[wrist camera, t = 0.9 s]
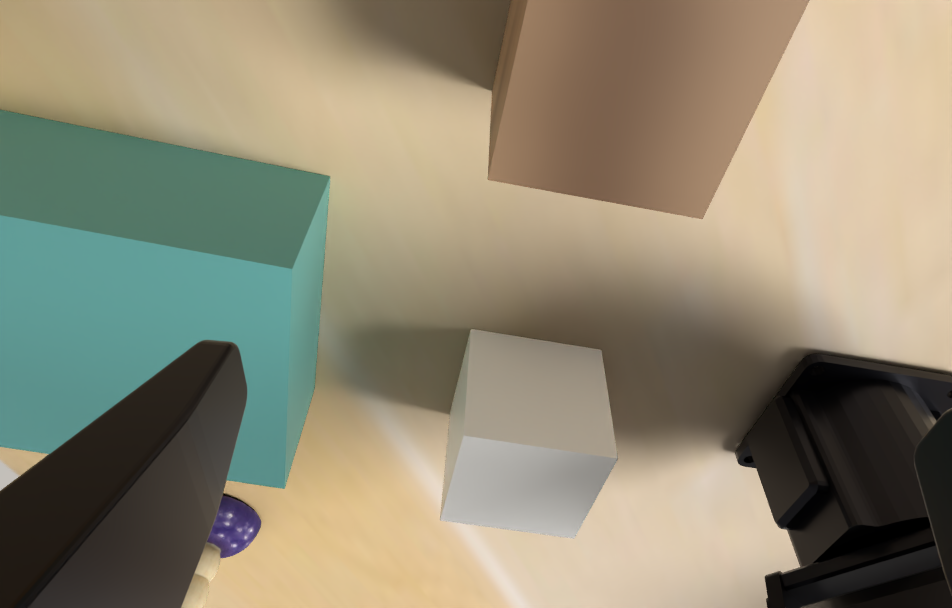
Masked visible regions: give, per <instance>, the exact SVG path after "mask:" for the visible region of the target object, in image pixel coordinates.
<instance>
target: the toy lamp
mask: <svg viewBox="0 0 952 608" xmlns="http://www.w3.org/2000/svg"><path fill="white" fill-rule="evenodd" d="M260 526H261V520H260V518H259V516H258V515H257V513H256V512H255V511H254V510H253V509H251V508H250V507H249V506H247V505H246V504H244V503H243V502H241V501H238V500H236V499H233V498H231V497H227V496H222V498H221V502H220V505H219V509H218V512H217V516H216V518H215V521H214V524H213V527H212V530H211V532H210V535H209V538H208V540H207V543H206V545H205V548H204V550H203V553H202V555H201V558H200V561H199V563H198V566H197V568H196V571H195V573H194V576H193V579H192V581H191V584H190V586H189V589H188V591H187V594H186V596H185V599H184V602H183V604H182V607H181V608H203V607H204V605H205V603H206V601H207V598H208V593H209V582H210V581H211V580H212V579H213V578H214V576H215V574H216V573H217V570H218V568H219V565H220V558H226V557H230V556H233V555H235V554H237V553H239V552H241V551H242V550H244V549H245V548H246V547H248V545H249V544H250V543H251V542H252V541H253V540H254V538H255V537H256V535H257V533H258V531H259V529H260Z"/></svg>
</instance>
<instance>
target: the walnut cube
mask: <svg viewBox="0 0 952 608" xmlns="http://www.w3.org/2000/svg"><path fill="white" fill-rule="evenodd" d="M808 2H809V0H511V3H510V7H509V12H508V17H507V22H506V27H505V32H504V36H503V41H502V46H501V51H500V56H499V60H498V65H497V70H496V75H495V80H494V85H493V89H492V104H491V125H490V146H489V166H488V180H492V181H497V182H503V183H508V184H514V185H519V186H525V187H530V188H535V189H541V190H546V191H552V192H557V193H563V194H568V195H574V196H579V197H585V198H590V199H595V200H601V201H606V202H612V203H617V204H623V205H628V206H634V207H639V208H645V209H650V210H656V211H661V212H666V213H672V214H677V215H683V216H688V217H694V218H699V219H703V217H704V215H705V213H706V211H707V209H708V207H709V205H710V203H711V201H712V199H713V197H714V194H715V192H716V190H717V188H718V186H719V184H720V182H721V180H722V178H723V176H724V174H725V172H726V170H727V168H728V166H729V164H730V162H731V160H732V158H733V156H734V154H735V152H736V150H737V147H738V145H739V143H740V141H741V139H742V137H743V135H744V133H745V131H746V129H747V127H748V125H749V123H750V121H751V119H752V117H753V115H754V113H755V111H756V109H757V107H758V105H759V103H760V100H761V98H762V96H763V94H764V92H765V90H766V88H767V86H768V84H769V82H770V80H771V78H772V76H773V74H774V72H775V70H776V68H777V66H778V64H779V62H780V60H781V58H782V56H783V53H784V51H785V49H786V47H787V45H788V43H789V41H790V39H791V37H792V35H793V33H794V31H795V29H796V27H797V25H798V23H799V21H800V19H801V17H802V15H803V13H804V11H805V9H806V6H807V4H808Z"/></svg>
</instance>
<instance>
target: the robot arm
mask: <svg viewBox="0 0 952 608" xmlns="http://www.w3.org/2000/svg"><path fill="white" fill-rule="evenodd" d="M817 366H818V367H817ZM814 367H815V368H814ZM246 402H247V383H246V378H245V374H244V369H243V364H242V359H241V355H240V351H239V348H238V346H237V345H236V344H235V343H233V342H229V341H217V340H202V341H200V342H198V343H196V344H195V345H194V346H192V347H191V348H190V349H188V350H187V351H186V352H184V353H183V354H182V355H180V356H179V357H178V358H176V359H175V360H174V361H172V362H171V363H170V364H168V365H167V366H166V367H164V368H163V369H162V370H160V371H159V372H158V373H156V374H155V375H154V376H152V377H151V378H150V379H148V380H147V381H146V382H144V383H143V384H142V385H141V386H139V387H138V388H137V389H135V390H134V391H133V392H131V393H130V394H129V395H127V396H126V397H125V398H123V399H122V400H121V401H119V402H118V403H117V404H115V405H114V406H113V407H111V408H110V409H109V410H107V411H106V412H105V413H103V414H102V415H101V416H99V417H98V418H97V419H95V420H94V421H93V422H91V423H90V424H89V425H87V426H86V427H85V428H83V429H82V430H81V431H79V432H78V433H77V434H75V435H74V436H73V437H71V438H70V439H69V440H67V441H66V442H65V443H63V444H62V445H61V446H59V447H58V448H57V449H55V450H54V451H53V452H51V453H50V454H49V455H47V456H46V457H45V458H43V459H42V460H41V461H39V462H38V463H37V464H35V465H34V466H33V467H31V468H30V469H29V470H27V471H26V472H25V473H23V474H22V475H21V476H19V477H18V478H17V479H15V480H14V481H13V482H12V483H10V484H9V485H7V486H6V487H5V488H3V489H2V490H1V491H0V608H181V607H182V604H183V602H184V599H185V596H186V594H187V591H188V589H189V586H190V584H191V581H192V579H193V576H194V573H195V571H196V568H197V566H198V563H199V561H200V558H201V555H202V553H203V550H204V548H205V545H206V543H207V540H208V538H209V535H210V532H211V530H212V527H213V524H214V521H215V518H216V516H217V512H218V509H219V505H220V502H221V498H222V495H223V491H224V487H225V483H226V479H227V476H228V472H229V468H230V464H231V460H232V457H233V453H234V449H235V445H236V441H237V437H238V434H239V430H240V426H241V422H242V418H243V415H244V411H245V407H246ZM735 455H736V458H737V461H738V464H740V465H741V466H745V467H752V468H757V471H758V474H759V477H760V480H761V483H762V486H763V489H764V492H765V494H766V497H767V500H768V503H769V506H770V509H771V512H772V515H773V518H774V520H775V522H776V524H777V525H778V527H779V528H781V529H787V531H788V534H789V536H790V539H791V542H792V545H793V547H794V550H795V553H796V556H797V559H798V561H799V564H800V568H797V569H793V570H790V571H787V572H784V573H782V572H780V571H778V572H775V573H772V574H768V575H765V582H766V588H767V595H768V598H767V599H766V602H767V608H952V376H951V375H945V374H939V373H933V372H927V371H921V370H915V369H909V368H903V367H897V366H890V365H884V364H878V363H872V362H866V361H860V360H854V359H848V358H842V357H836V356H830V355H824V354H813V355H809V356H807V357H805V358H804V359H803V360H802V361H801V362H800V363H799V365H798V366H797V367H796V369H795V370H794V372H793V373H792V374H791V376H790V377H789V378H788V380H787V381H786V382H785V384H784V385H783V387H782V388H781V389H780V391H779V392H778V393H777V395H776V396H775V398H774V399H773V400H772V402H771V403H770V404H769V406H768V407H767V408H766V410H765V411H764V413H763V414H762V415H761V417H760V418H759V419H758V421H757V422H756V424H755V425H754V426H753V428H752V429H751V430H750V432H749V433H748V434H747V436H746V437H745V439H744V440H743V441H742V443H741V444H740V445H739V447H738V448H737V450H736V452H735Z"/></svg>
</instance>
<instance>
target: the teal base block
mask: <svg viewBox="0 0 952 608" xmlns="http://www.w3.org/2000/svg"><path fill="white" fill-rule="evenodd" d="M329 188H330V176H326V175H321V174H316V173H311V172H306V171H301V170H296V169H291V168H286V167H281V166H276V165H271V164H266V163H261V162H256V161H251V160H246V159H242V158H237V157H232V156H227V155H222V154H217V153H212V152H207V151H202V150H197V149H192V148H187V147H182V146H177V145H172V144H167V143H162V142H157V141H152V140H147V139H143V138H138V137H133V136H128V135H123V134H118V133H113V132H108V131H103V130H98V129H93V128H88V127H83V126H78V125H73V124H68V123H63V122H58V121H53V120H48V119H44V118H39V117H34V116H29V115H24V114H19V113H14V112H9V111H4V110H0V447H6V448H12V449H19V450H26V451H33V452H39V453H46V454H50V453H51V452H53V451H54V450H55V449H57V448H58V447H59V446H61V445H62V444H63V443H65V442H66V441H67V440H69V439H70V438H71V437H73V436H74V435H75V434H77V433H78V432H79V431H81V430H82V429H83V428H85V427H86V426H87V425H89V424H90V423H91V422H93V421H94V420H95V419H97V418H98V417H99V416H101V415H102V414H103V413H105V412H106V411H107V410H109V409H110V408H111V407H113V406H114V405H115V404H117V403H118V402H119V401H121V400H122V399H123V398H125V397H126V396H127V395H129V394H130V393H131V392H133V391H134V390H135V389H137V388H138V387H139V386H141V385H142V384H143V383H144V382H146V381H147V380H148V379H150V378H151V377H152V376H154V375H155V374H156V373H158V372H159V371H160V370H162V369H163V368H164V367H166V366H167V365H168V364H170V363H171V362H172V361H174V360H175V359H176V358H178V357H179V356H180V355H182V354H183V353H184V352H186V351H187V350H188V349H190V348H191V347H192V346H194V345H195V344H196V343H198V342H200V341H202V340H217V341H229V342H233V343H235V344H236V345H237V346H238V348H239V351H240V355H241V359H242V364H243V369H244V374H245V378H246V383H247V402H246V407H245V411H244V415H243V418H242V422H241V426H240V430H239V434H238V437H237V441H236V445H235V449H234V453H233V457H232V460H231V464H230V468H229V472H228V476H227V479H226V480H229V481H235V482H242V483H249V484H256V485H262V486H269V487H276V488H283V489H285V486H286V482H287V479H288V476H289V472H290V469H291V466H292V462H293V459H294V456H295V452H296V449H297V446H298V442H299V439H300V436H301V432H302V429H303V426H304V422H305V419H306V416H307V412H308V409H309V406H310V402H311V399H312V396H313V392H314V389H315V376H316V362H317V349H318V336H319V322H320V309H321V295H322V282H323V268H324V255H325V241H326V228H327V214H328V201H329Z"/></svg>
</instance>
